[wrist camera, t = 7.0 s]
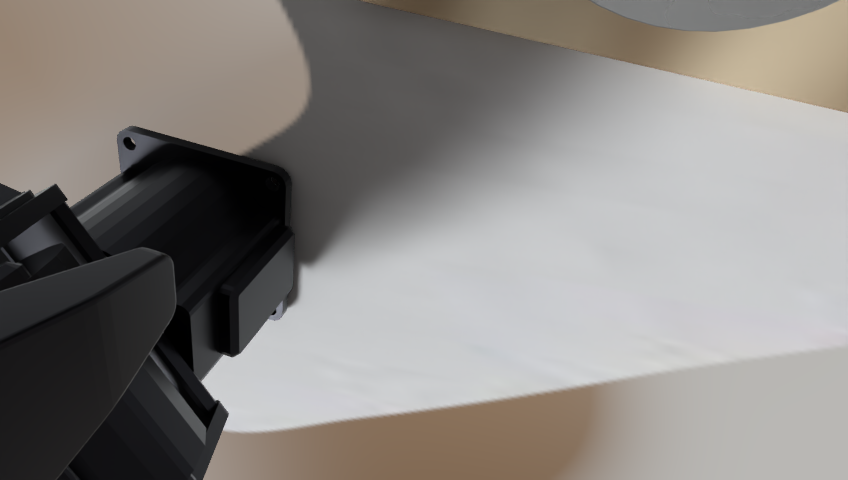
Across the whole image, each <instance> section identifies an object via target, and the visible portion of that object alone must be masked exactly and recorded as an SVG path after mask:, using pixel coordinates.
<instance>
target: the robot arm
mask: <svg viewBox="0 0 848 480" xmlns="http://www.w3.org/2000/svg"><path fill="white" fill-rule="evenodd" d="M131 138H132V139H133V140H134V141H135V144H136V145H135V144H134V143H133V142H132V141H131ZM117 144H118V152H119V161H120V169H121V174H119V175H118V176H116V177H115V178H113V179H112V180H110V181H109V182H107V183H106V184H104V185H103V186H101V187H100V188H99V189H97V190H96V191H94V192H92V193H91V194H89V195H88V196H87V197H85V198H84V199H82V200H81V201H79V202H78V203H76V204H75V205H73V206H72V207H70V208H69V206H68V205H67V204H66V202H65V201H67V198H66V197H65V195H64V194H63V192H62V191H61V190H60V188H59V187H58V186H57V184H54V185H52V186H50V187H48V188H47V189H44V190H43V191H41V192H39V193H37V194H35V195H34V194H33V193H32V192H31V190H29V191H27V192H22V193H21V192H18V191H16V190H14V189H12V188H10V187H7V186H5V185H3V184H1V183H0V480H203V478H204V475H205V473H206V470H207V468H208V465H209V463H210V460H211V458H212V455H213V453H214V450H215V448H216V445H217V443H218V440H219V438H220V435H221V433H222V430H223V428H224V425H225V423H226V420H227V418H228V415H229V413H228V412H227V411H226V409H225V408H224V407H223V405H222V404H221V403H220V401H219V400H216V401H215V400H214V398H213V397H212V396H211V394H210V393H209V392H208V391H207V389H206V388H205V387H204V385H203V384H202V383H201V381H202V380H203V379H204V377H205V376H206V375H207V374H208V373H209V371H210V370H211V369H212V368H213V367H214V365H215V364H216V363H217V362H218V361H219V359H220V358H221V357H222V356H223V354H224V355H227V356H230V357H235V356H236V355H238V354H240V353H241V352H242V351H243V350H244V348H245V347H246V346H247V345H248V343H249V342H250V341H251V340H252V338H253V337H254V336H255V335H256V333H257V332H258V331H259V330H260V328H261V327H262V326H263V324H264V323H265V322H266V321H267V319H270V320H279V319H280V318H281V317H282V316H283V314H284V313H285V312H286V310H287V298H288V293H289V292H290V291H291V289H292V287H293V267H294V240H295V234H294V232H293V230H292V228H291V227H290V208H291V178H290V176H289V174H288V173H287V172H286V171H285V170H284V169H283V168H281V167H279V166H275V165H272V164H268V163H265V162H261V161H257V160H254V159H250V158H247V157H243V156H240V155H236V154H232V153H229V152H225V151H222V150H218V149H215V148H211V147H207V146H204V145H200V144H196V143H193V142H190V141H186V140H182V139H179V138H175V137H171V136H168V135H165V134H161V133H157V132H153V131H150V130H147V129H143V128H139V127H136V126H129V127H128V128H125V129H124V130H122V131H120V132H119V134H118V135H117ZM271 178H274V179H276V180H277V181H278V183H279V186H277V185H275V184H274V183H273V182H272V179H271Z"/></svg>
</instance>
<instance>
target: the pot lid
mask: <svg viewBox="0 0 848 480" xmlns="http://www.w3.org/2000/svg"><path fill="white" fill-rule="evenodd" d="M592 1H594V2H595V3H597V4H598V5H600V6H602V7H605V8H607V9H609V10H612V11H614V12H616V13H618V14H621V15H623V16H625V17H627V18H631V19H634V20H638V21H641V22H645V23H648V24H652V25H655V26H661V27H667V28H674V29H681V30H689V31H726V30H737V29H747V28H754V27H759V26H764V25H768V24H773V23H777V22H782V21H787V20H790V19H793V18H796V17H799V16H801V15H804V14H807V13H810V12H813V11H816V10H819V9H822V8H824V7H826V6H829V5H831V4H833V3H835V2H837V1H839V0H592Z"/></svg>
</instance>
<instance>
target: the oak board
mask: <svg viewBox="0 0 848 480" xmlns="http://www.w3.org/2000/svg"><path fill="white" fill-rule="evenodd" d="M359 1H363V2H368V3H372V4H376V5H381V6H385V7H390V8H394V9H398V10H403V11H407V12H411V13H416V14H420V15H424V16H429V17H433V18H437V19H442V20H446V21H450V22H455V23H459V24H464V25H468V26H472V27H477V28H481V29H485V30H490V31H494V32H498V33H503V34H507V35H511V36H516V37H520V38H525V39H529V40H533V41H538V42H542V43H546V44H551V45H555V46H559V47H564V48H568V49H572V50H577V51H581V52H585V53H590V54H594V55H599V56H603V57H607V58H612V59H616V60H620V61H625V62H629V63H633V64H638V65H642V66H646V67H651V68H655V69H659V70H664V71H668V72H673V73H677V74H681V75H686V76H690V77H694V78H699V79H703V80H707V81H712V82H716V83H720V84H725V85H729V86H734V87H738V88H742V89H747V90H751V91H755V92H760V93H764V94H768V95H773V96H777V97H781V98H786V99H790V100H794V101H799V102H803V103H808V104H812V105H816V106H821V107H825V108H829V109H834V110H838V111H842V112H847V113H848V0H839V1H837V2H835V3H833V4H831V5H829V6H826V7H824V8H822V9H819V10H816V11H813V12H810V13H807V14H804V15H801V16H799V17H796V18H793V19H790V20H787V21H782V22H778V23H773V24H768V25H764V26H759V27H755V28H750V29H740V30H730V31H719V32H707V31H682V30H675V29H669V28H662V27H655V26H651V25H648V24H645V23H641V22H638V21H634V20H631V19H627V18H624V17H622V16H620V15H618V14H615V13H613V12H611V11H609V10H606V9H604V8H602V7H599V6H598V5H596V4H594V3H593V2H591V1H589V0H359Z"/></svg>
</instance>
